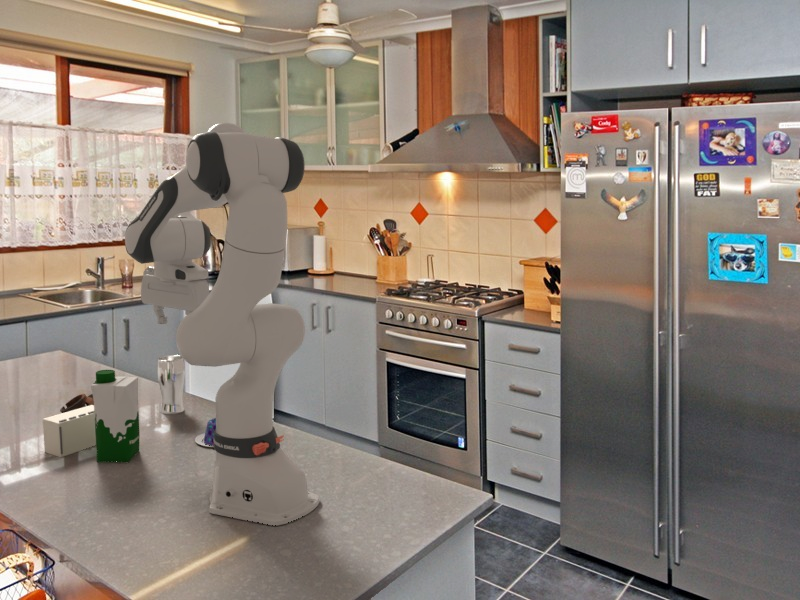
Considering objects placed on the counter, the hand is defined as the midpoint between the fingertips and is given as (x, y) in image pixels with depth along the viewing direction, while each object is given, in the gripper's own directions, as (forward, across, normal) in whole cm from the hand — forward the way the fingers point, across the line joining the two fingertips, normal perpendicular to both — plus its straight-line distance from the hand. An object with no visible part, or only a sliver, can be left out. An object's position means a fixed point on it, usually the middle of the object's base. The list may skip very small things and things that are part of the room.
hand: (174, 325), depth 180 cm
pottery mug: (+28, -28, -6) cm, 40 cm away
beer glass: (+28, -16, +12) cm, 34 cm away
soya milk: (+28, 0, -18) cm, 33 cm away
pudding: (+28, +11, +3) cm, 30 cm away
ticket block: (+28, -13, -19) cm, 36 cm away
